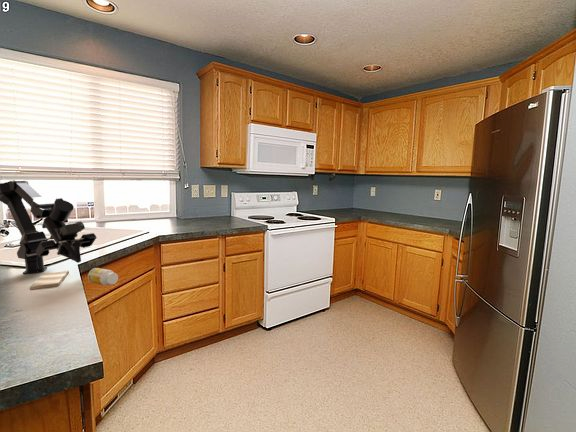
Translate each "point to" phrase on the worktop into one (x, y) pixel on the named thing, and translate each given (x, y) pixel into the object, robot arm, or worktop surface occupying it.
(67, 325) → the worktop surface
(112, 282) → the supplement bottle
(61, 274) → the beige rectangular board
